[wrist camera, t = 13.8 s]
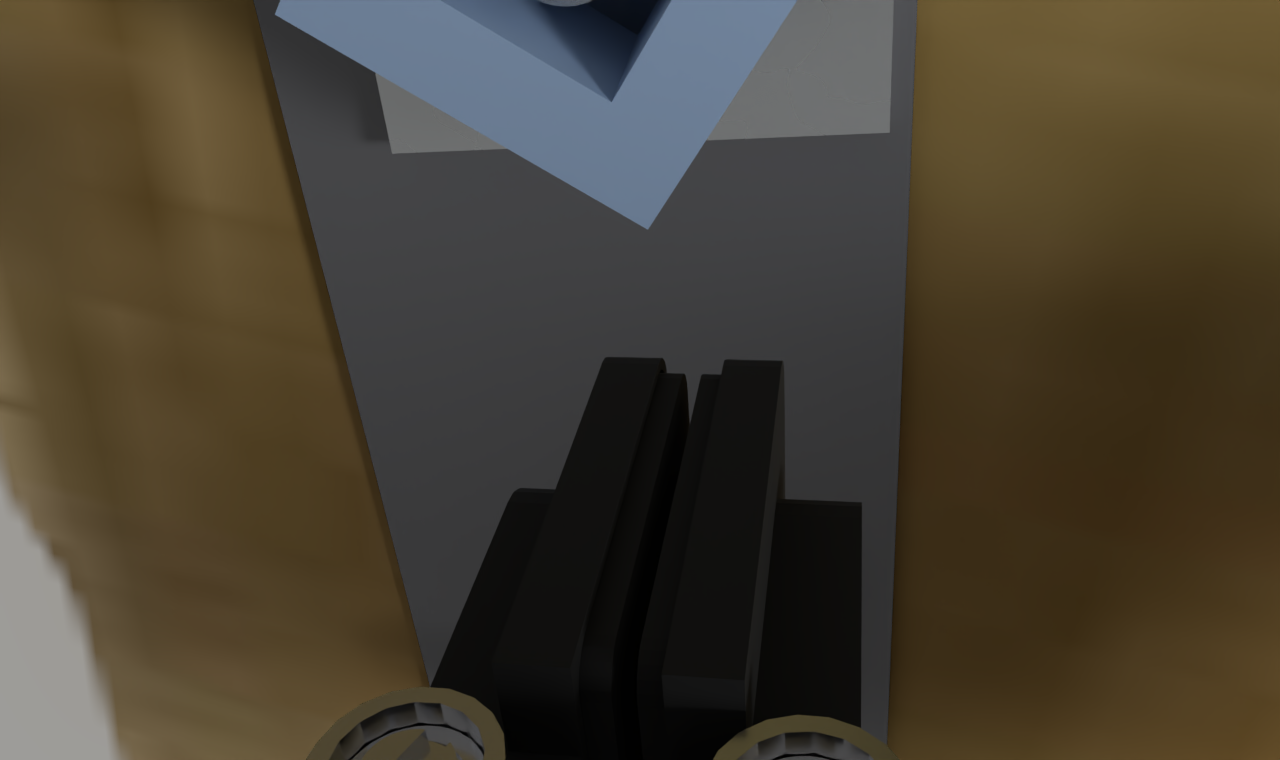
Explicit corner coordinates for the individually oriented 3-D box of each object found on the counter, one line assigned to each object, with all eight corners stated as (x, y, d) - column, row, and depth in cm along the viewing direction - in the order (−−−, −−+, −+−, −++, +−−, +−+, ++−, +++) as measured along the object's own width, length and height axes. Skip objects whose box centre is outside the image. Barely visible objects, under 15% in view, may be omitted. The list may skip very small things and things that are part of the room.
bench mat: (946, -777, 16) (949, -786, 16) (881, 836, 35) (882, 848, 35) (96, -652, 18) (84, -657, 18) (470, 820, 37) (467, 830, 37)
